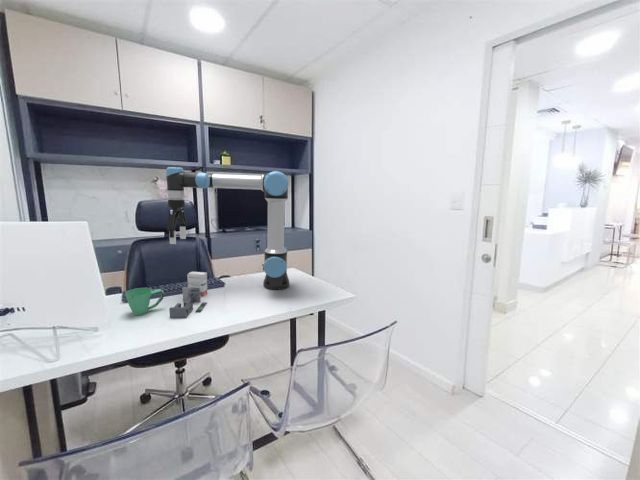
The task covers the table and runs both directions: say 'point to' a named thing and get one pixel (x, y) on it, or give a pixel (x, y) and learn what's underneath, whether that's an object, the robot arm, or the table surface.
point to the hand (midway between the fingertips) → (178, 241)
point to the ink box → (198, 281)
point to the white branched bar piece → (191, 295)
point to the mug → (141, 299)
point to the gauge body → (184, 310)
